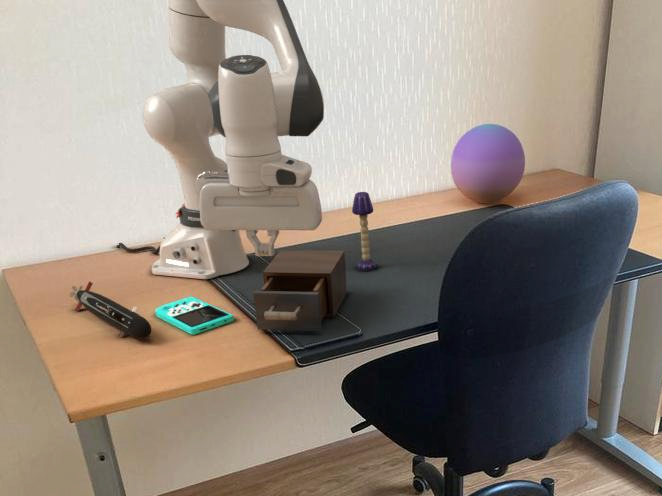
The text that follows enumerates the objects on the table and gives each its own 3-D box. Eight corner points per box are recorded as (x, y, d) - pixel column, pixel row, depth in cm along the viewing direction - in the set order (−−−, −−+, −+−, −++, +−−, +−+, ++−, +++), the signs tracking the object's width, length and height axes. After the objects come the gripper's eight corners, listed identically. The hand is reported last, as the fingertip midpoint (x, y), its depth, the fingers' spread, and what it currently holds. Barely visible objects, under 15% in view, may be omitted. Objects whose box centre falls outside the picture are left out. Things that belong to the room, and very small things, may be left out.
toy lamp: (373, 272, 187) (370, 196, 177) (353, 271, 188) (349, 195, 178) (377, 265, 191) (374, 190, 181) (357, 264, 191) (353, 190, 182)
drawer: (314, 341, 154) (311, 303, 150) (250, 339, 156) (245, 302, 152) (334, 306, 168) (331, 271, 164) (274, 305, 170) (271, 270, 166)
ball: (514, 190, 239) (518, 115, 228) (530, 209, 223) (535, 129, 212) (445, 194, 239) (445, 120, 228) (456, 214, 222) (457, 134, 211)
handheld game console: (193, 300, 177) (192, 294, 176) (236, 320, 166) (235, 314, 166) (151, 314, 171) (150, 308, 171) (192, 335, 161) (191, 328, 160)
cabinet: (333, 317, 165) (330, 273, 160) (267, 316, 168) (262, 272, 163) (347, 293, 176) (344, 250, 171) (284, 291, 179) (280, 250, 174)
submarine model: (83, 313, 180) (42, 292, 173) (97, 285, 180) (56, 264, 172) (154, 355, 160) (111, 334, 152) (170, 324, 160) (128, 302, 152)
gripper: (187, 175, 133) (200, 260, 140) (311, 174, 129) (318, 261, 137) (200, 166, 138) (212, 248, 146) (320, 164, 134) (327, 249, 142)
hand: (265, 255), depth 141 cm, fingers closed
